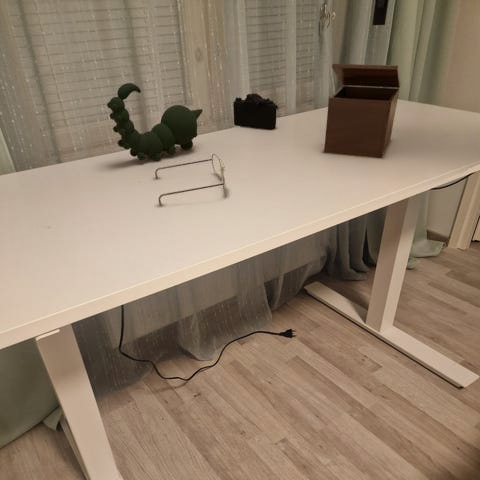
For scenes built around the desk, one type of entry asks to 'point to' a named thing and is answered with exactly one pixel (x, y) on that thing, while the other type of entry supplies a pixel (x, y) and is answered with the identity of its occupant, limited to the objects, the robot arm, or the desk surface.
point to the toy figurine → (161, 136)
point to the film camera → (255, 112)
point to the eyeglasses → (195, 188)
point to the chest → (360, 120)
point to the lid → (368, 75)
